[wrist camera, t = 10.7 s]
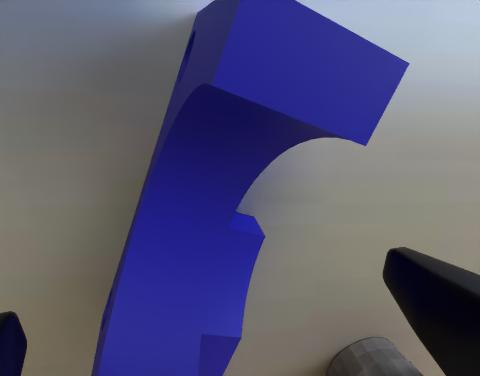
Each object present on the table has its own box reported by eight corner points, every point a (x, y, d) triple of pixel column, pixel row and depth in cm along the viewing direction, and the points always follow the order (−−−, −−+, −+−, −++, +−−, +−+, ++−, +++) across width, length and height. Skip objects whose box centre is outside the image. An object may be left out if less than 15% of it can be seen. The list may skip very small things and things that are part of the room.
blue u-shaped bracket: (204, 327, 15) (232, 485, 9) (102, 316, 13) (67, 499, 8) (319, 70, 11) (467, 95, 6) (197, 13, 10) (249, -25, 4)
